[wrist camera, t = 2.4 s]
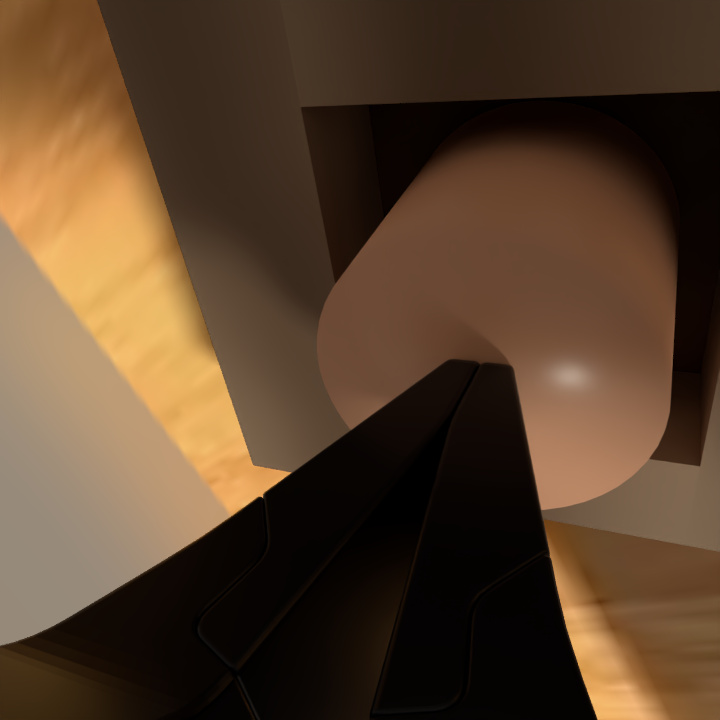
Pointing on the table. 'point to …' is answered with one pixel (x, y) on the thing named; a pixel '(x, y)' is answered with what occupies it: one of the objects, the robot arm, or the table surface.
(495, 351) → the button rust
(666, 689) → the table surface
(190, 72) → the wooden compartment tray
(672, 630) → the table surface
